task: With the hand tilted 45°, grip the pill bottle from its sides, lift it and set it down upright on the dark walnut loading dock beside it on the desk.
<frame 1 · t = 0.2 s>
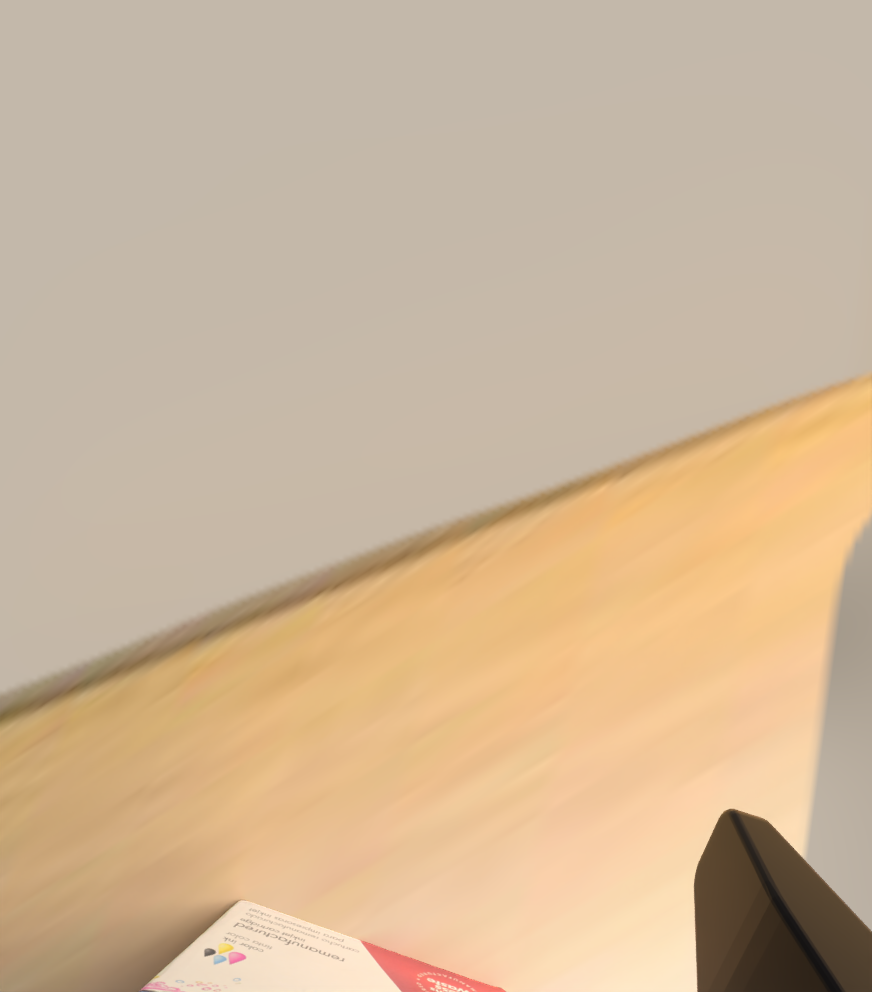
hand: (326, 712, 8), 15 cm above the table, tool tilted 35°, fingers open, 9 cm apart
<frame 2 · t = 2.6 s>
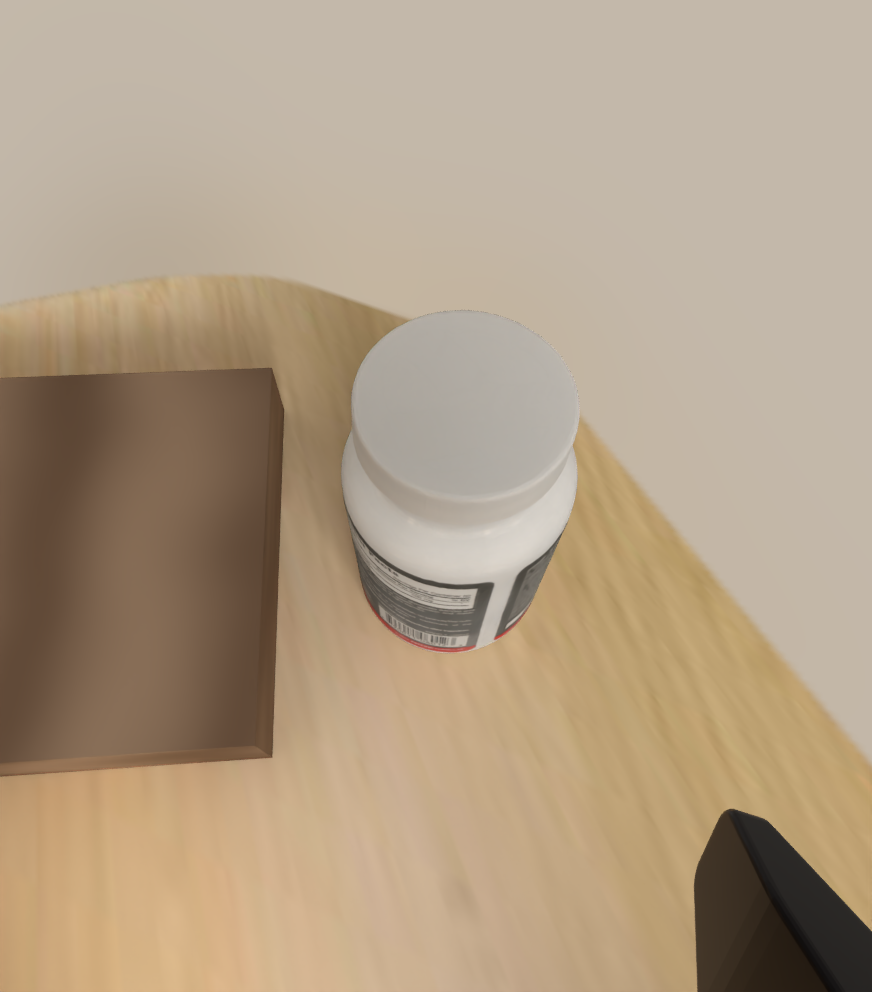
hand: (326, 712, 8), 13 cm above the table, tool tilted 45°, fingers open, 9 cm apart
dock: (58, 575, 23), on the table
pill bottle: (447, 573, 23), on the table
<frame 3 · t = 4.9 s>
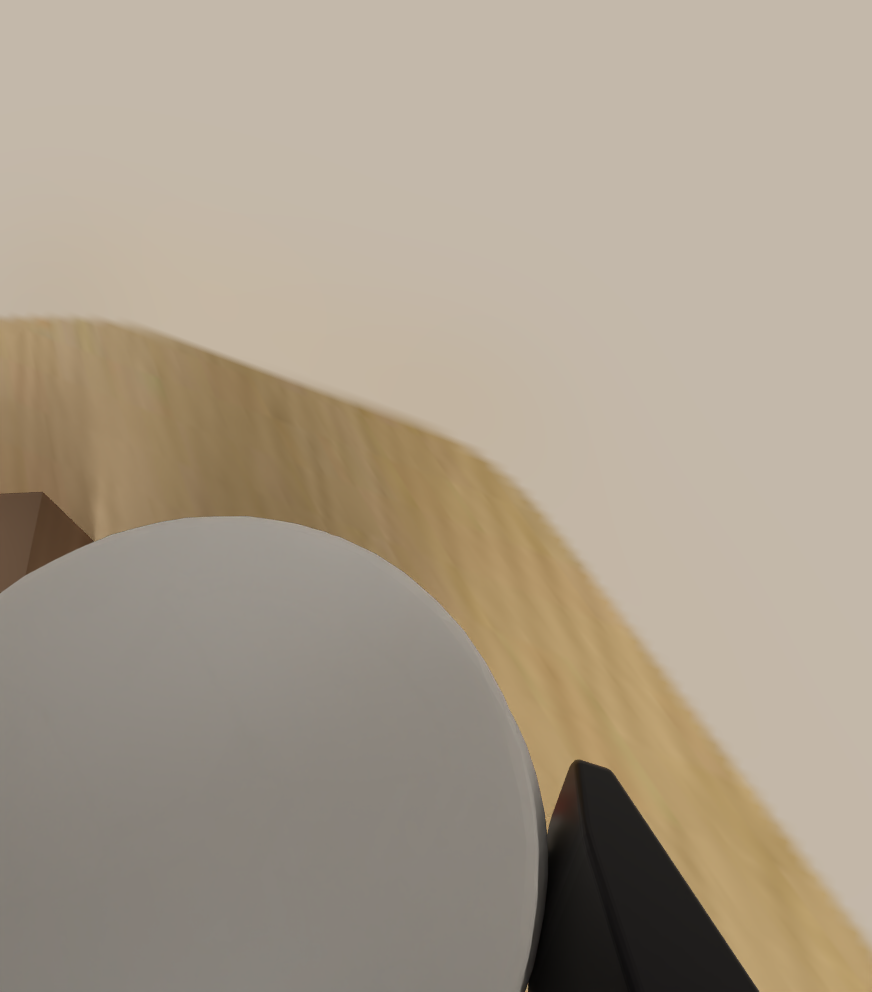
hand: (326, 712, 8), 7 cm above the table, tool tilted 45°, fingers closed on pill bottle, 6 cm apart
pill bottle: (340, 845, 14), on the table, touching gripper
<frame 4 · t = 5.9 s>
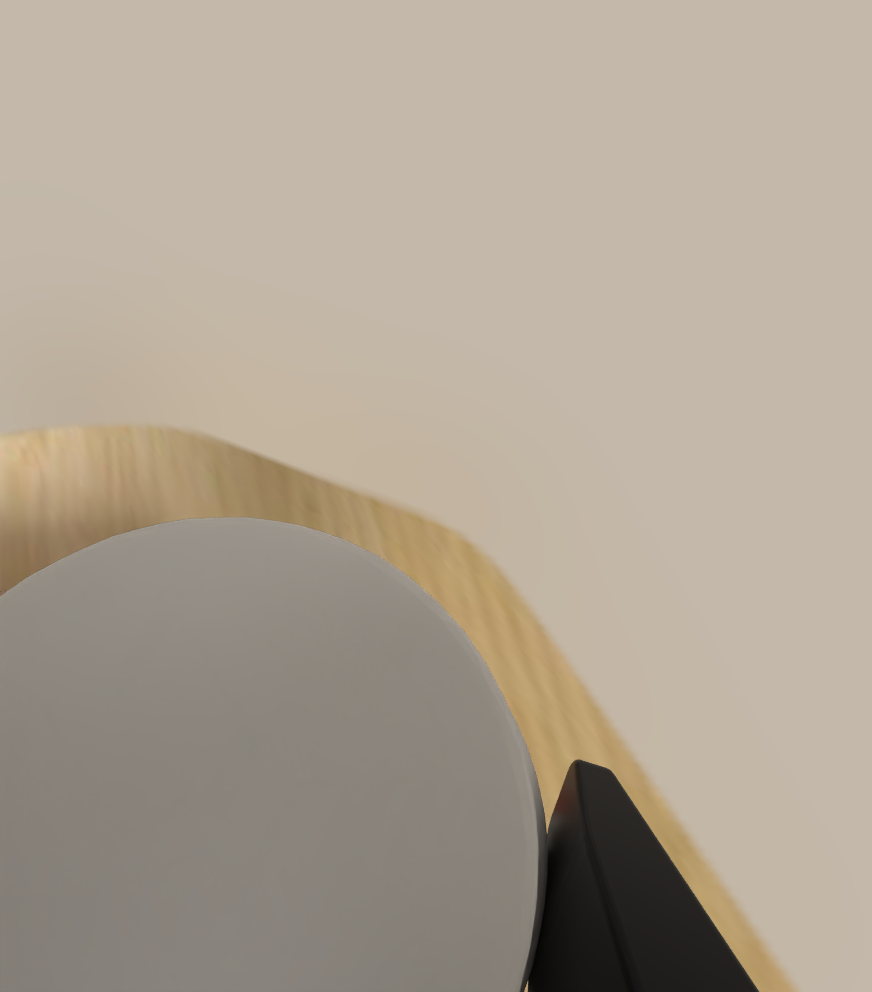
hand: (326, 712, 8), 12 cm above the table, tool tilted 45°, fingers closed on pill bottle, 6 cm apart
pill bottle: (340, 844, 14), point 5 cm above the table, touching gripper
when the fingers open (12 cm above the table, at t = 7.2 s): pill bottle drops 2 cm, resting on dock.
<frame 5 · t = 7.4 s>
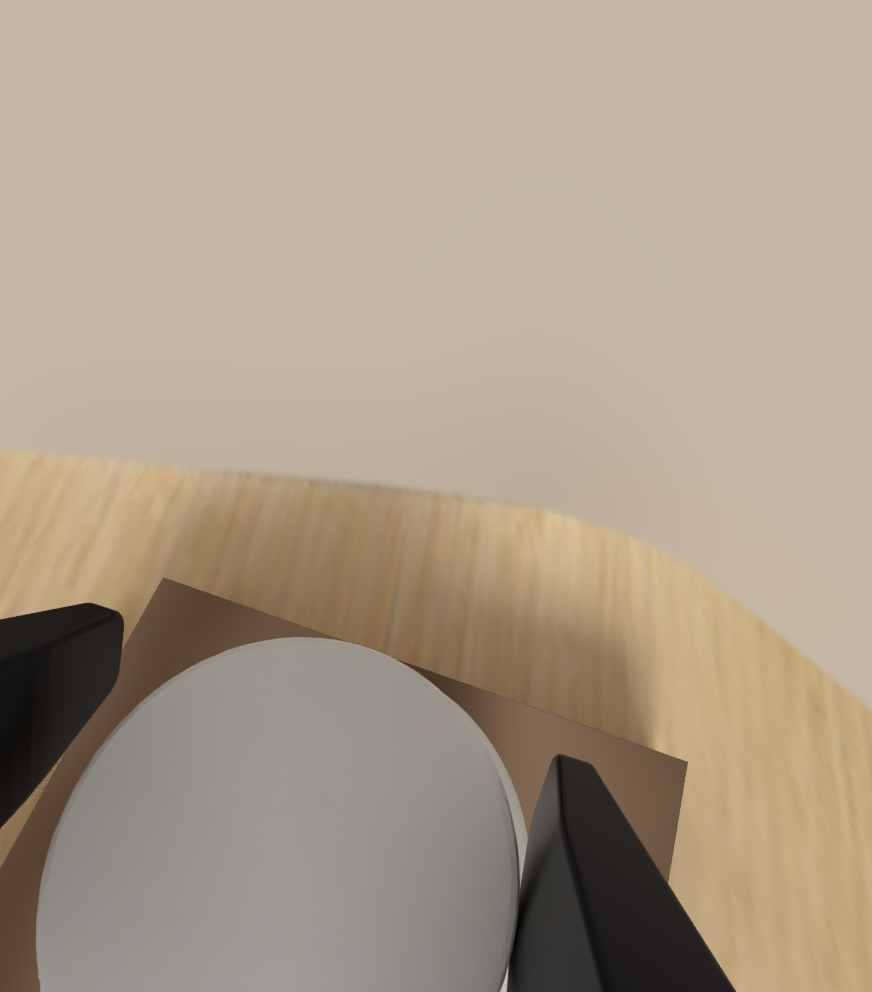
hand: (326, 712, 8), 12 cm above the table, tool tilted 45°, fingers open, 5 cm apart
dock: (329, 920, 17), on the table
pill bottle: (358, 861, 16), point 2 cm above the table, touching dock, gripper
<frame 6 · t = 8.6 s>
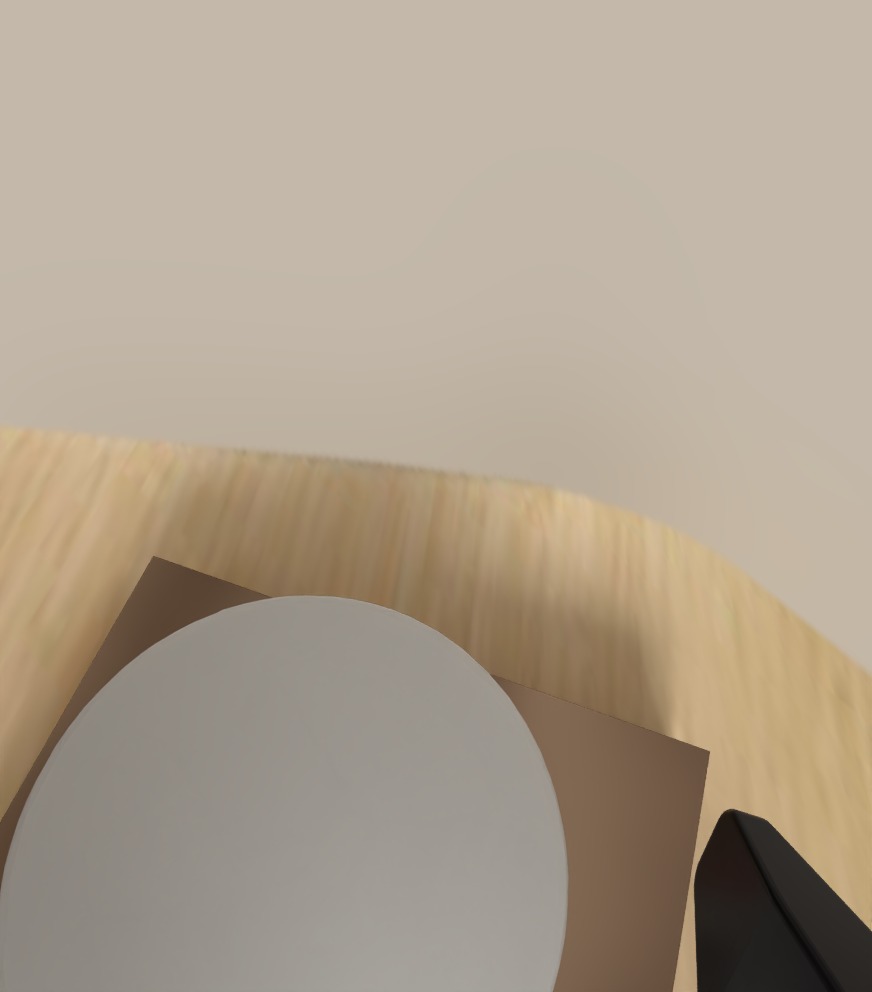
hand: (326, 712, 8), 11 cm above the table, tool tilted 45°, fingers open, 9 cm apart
dock: (329, 918, 16), on the table
pill bottle: (361, 854, 15), point 2 cm above the table, touching dock
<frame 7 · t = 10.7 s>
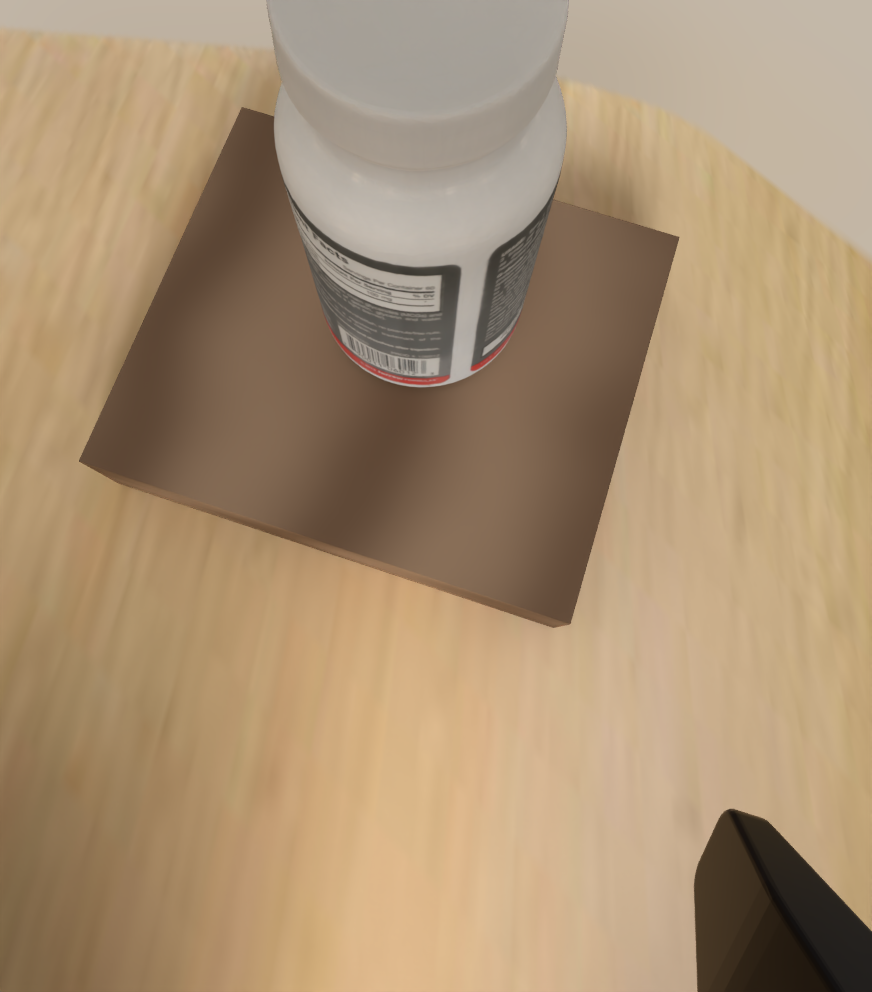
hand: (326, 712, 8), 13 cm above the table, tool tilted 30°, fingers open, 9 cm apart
dock: (396, 377, 23), on the table
pill bottle: (421, 304, 21), point 2 cm above the table, touching dock
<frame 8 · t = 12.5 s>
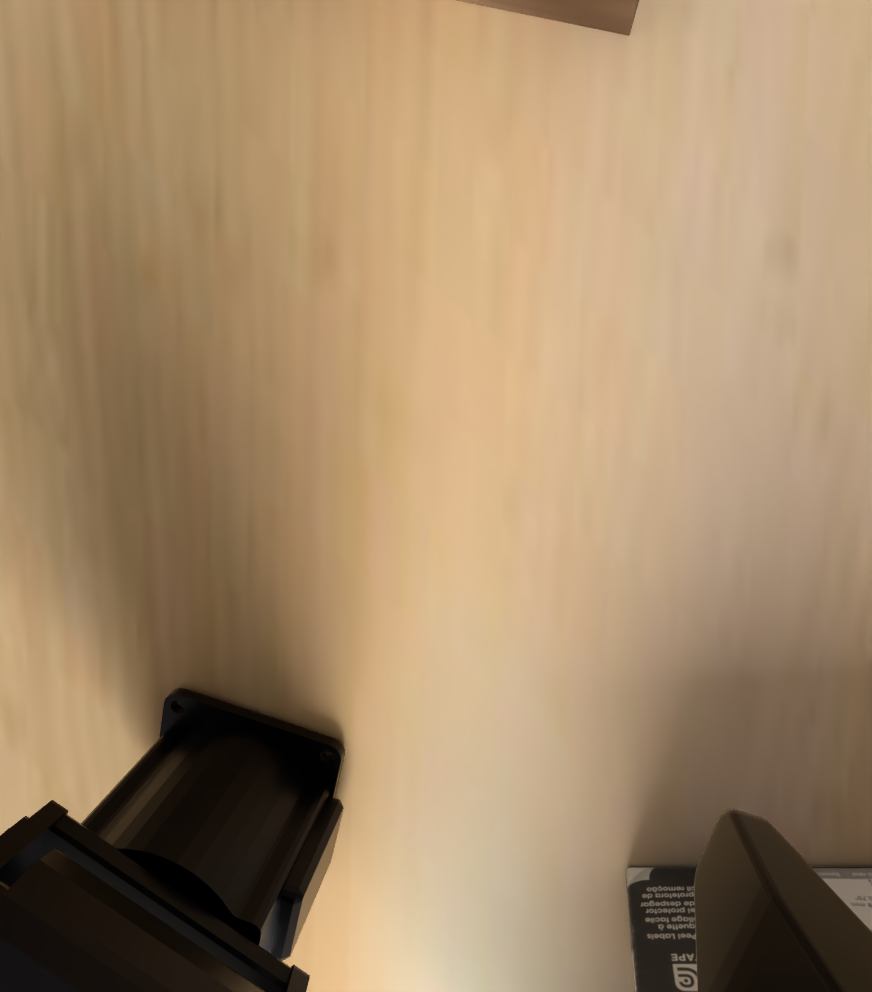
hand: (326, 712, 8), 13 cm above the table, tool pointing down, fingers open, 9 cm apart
label tape cartridge: (768, 904, 23), on the table
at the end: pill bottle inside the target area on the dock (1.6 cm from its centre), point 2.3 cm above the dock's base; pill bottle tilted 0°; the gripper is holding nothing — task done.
